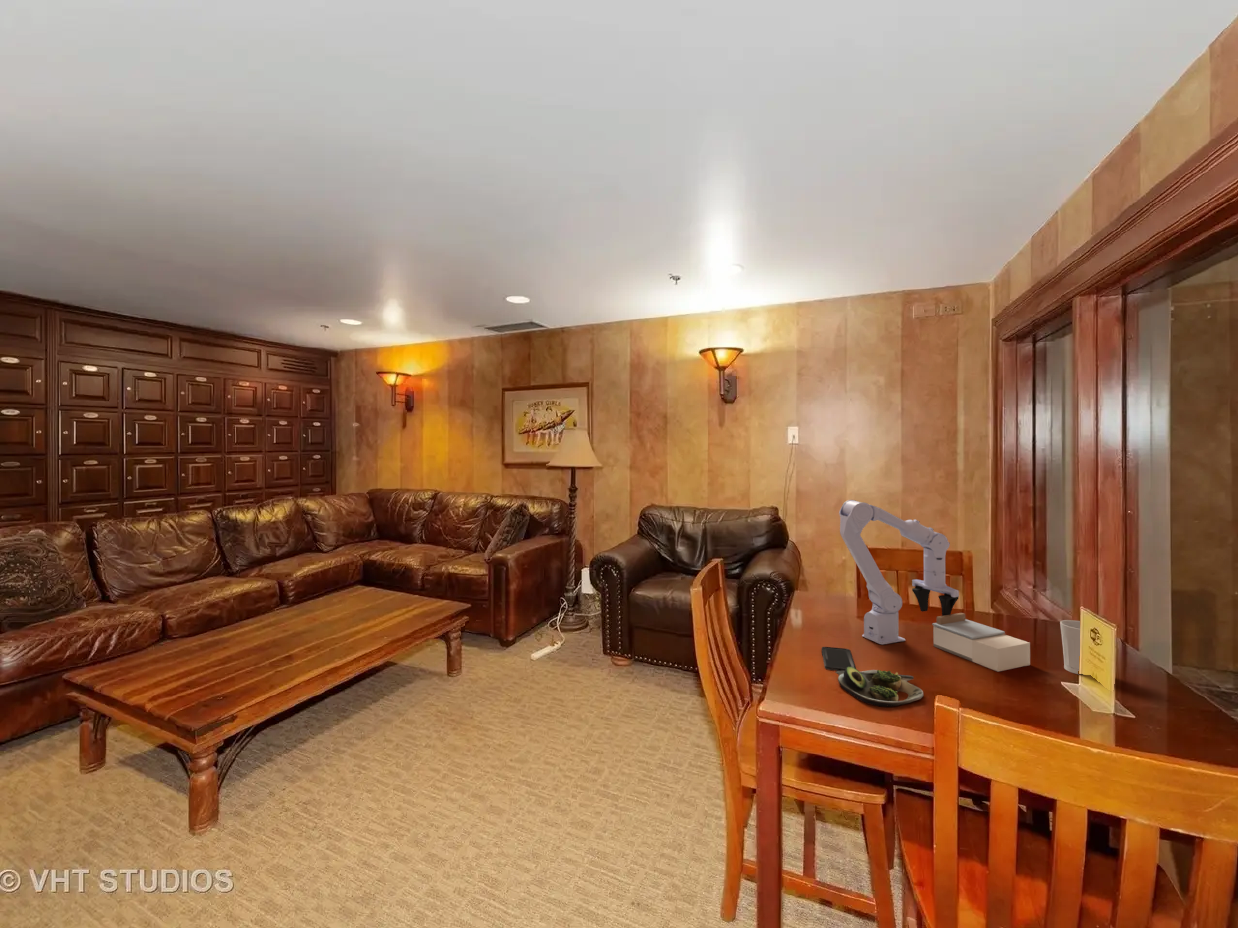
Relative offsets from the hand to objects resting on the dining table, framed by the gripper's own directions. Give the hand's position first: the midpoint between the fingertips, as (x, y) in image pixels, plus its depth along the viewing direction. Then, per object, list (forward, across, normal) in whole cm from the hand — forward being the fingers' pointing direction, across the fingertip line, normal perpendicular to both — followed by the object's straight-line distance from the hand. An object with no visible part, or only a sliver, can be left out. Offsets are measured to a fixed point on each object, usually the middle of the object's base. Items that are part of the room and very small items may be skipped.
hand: (934, 614), depth 160 cm
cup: (+8, -31, -14) cm, 35 cm away
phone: (+8, -2, +39) cm, 40 cm away
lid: (+1, -11, 0) cm, 11 cm away
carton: (+7, -14, 0) cm, 16 cm away
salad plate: (+8, -20, +43) cm, 48 cm away
